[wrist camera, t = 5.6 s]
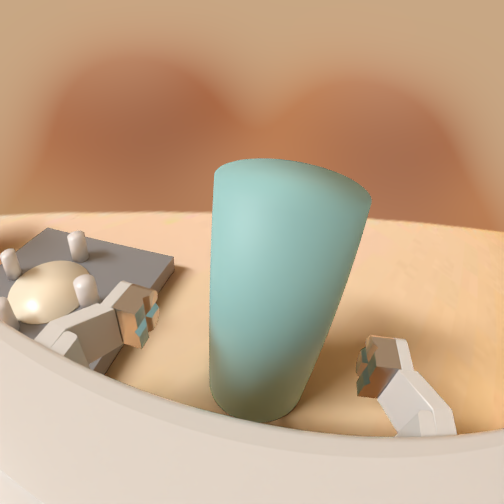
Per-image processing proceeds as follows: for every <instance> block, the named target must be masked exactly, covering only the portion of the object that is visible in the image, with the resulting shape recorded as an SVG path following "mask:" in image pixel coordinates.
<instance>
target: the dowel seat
mask: <svg viewBox="0 0 504 504" xmlns="http://www.w3.org/2000/svg"><path fill="white" fill-rule="evenodd" d="M0 259H1V262H2V264H1V265H0V320H1V321H3V322H4V323H6V324H7V325H9V326H11V327H12V328H14V329H16V330H17V331H19V332H21V333H22V334H24V335H26V336H27V337H29V338H31V339H33V340H34V339H35V338H36V337H37V336H38V334H39V333H40V332H41V331H42V330H43V329H44V328H45V326H46V325H47V324H48V323H49V322H50V321H52V320H55V319H58V318H60V317H63V316H65V315H68V314H70V313H73V312H76V311H78V310H81V309H83V308H86V307H89V306H91V305H94V304H96V303H98V304H101V303H102V302H103V300H104V299H105V298H106V297H107V296H108V295H109V294H110V292H111V291H112V290H113V289H114V288H115V287H116V286H117V284H118V283H119V282H121V281H126V282H129V283H132V284H136V285H140V286H143V287H146V288H150V289H153V290H155V291H157V294H158V292H159V291H160V290H161V288H162V287H163V285H164V284H165V282H166V281H167V280H168V278H169V277H170V275H171V274H172V273H173V271H174V257H172V256H167V255H163V254H158V253H154V252H149V251H145V250H140V249H136V248H132V247H127V246H123V245H118V244H114V243H110V242H105V241H101V240H97V239H92V238H88V237H85V234H84V232H83V231H74V232H72V233H67V232H63V231H59V230H55V229H51V228H46V229H45V230H44V231H42V232H41V233H40V234H38V235H37V236H36V237H34V238H33V239H32V240H31V241H29V242H28V243H27V244H25V245H24V246H23V247H22V248H20V249H19V250H18V251H17V252H15V250H14V249H13V248H10V249H6V250H4V251H3V252H2V253H1V254H0ZM123 345H124V343H123V344H122V345H121V346H119V347H117V348H116V349H114V350H112V351H111V352H109V353H107V354H106V355H104V356H102V357H100V358H99V359H97V360H95V361H94V362H92V363H90V364H89V367H90V369H92V370H94V371H96V372H98V373H101V374H103V375H104V374H105V373H106V371H107V370H108V368H109V366H110V365H111V363H112V362H113V360H114V359H115V357H116V355H117V354H118V352H119V351H120V349H121V348H122V346H123Z"/></svg>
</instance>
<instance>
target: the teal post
mask: <svg viewBox="0 0 504 504" xmlns="http://www.w3.org/2000/svg"><path fill="white" fill-rule="evenodd" d="M370 205H371V196H370V195H369V193H368V192H367V191H366V190H365V189H364V188H363V187H362V186H361V185H359V184H358V183H357V182H355V181H353V180H352V179H350V178H348V177H346V176H344V175H341V174H339V173H337V172H334V171H331V170H328V169H325V168H322V167H319V166H315V165H311V164H307V163H302V162H297V161H290V160H282V159H245V160H238V161H234V162H230V163H227V164H225V165H223V166H221V167H219V168H218V169H217V170H216V172H215V174H214V193H213V212H212V235H211V265H210V316H209V381H210V390H211V393H212V396H213V398H214V400H215V401H216V403H217V404H218V405H219V406H220V407H221V408H222V409H223V410H224V411H225V412H227V413H228V414H230V415H231V416H233V417H235V418H239V419H243V420H248V421H253V422H258V423H262V422H270V421H274V420H277V419H279V418H281V417H283V416H285V415H286V414H288V413H289V412H290V411H291V410H293V408H294V407H295V406H296V405H297V403H298V401H299V399H300V397H301V395H302V393H303V391H304V388H305V386H306V384H307V382H308V379H309V377H310V375H311V373H312V370H313V368H314V366H315V363H316V361H317V359H318V356H319V354H320V351H321V349H322V347H323V344H324V342H325V339H326V337H327V334H328V332H329V329H330V326H331V324H332V321H333V319H334V316H335V313H336V311H337V308H338V305H339V303H340V300H341V297H342V294H343V291H344V289H345V286H346V283H347V280H348V277H349V274H350V271H351V268H352V265H353V262H354V259H355V256H356V253H357V250H358V247H359V243H360V240H361V237H362V234H363V230H364V227H365V223H366V220H367V217H368V213H369V209H370Z"/></svg>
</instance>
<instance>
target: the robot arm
mask: <svg viewBox="0 0 504 504" xmlns="http://www.w3.org/2000/svg"><path fill="white" fill-rule="evenodd" d="M157 299H158V295H157V291H155V290H153V289H150V288H146V287H143V286H140V285H136V284H132V283H129V282H126V281H121V282H119V283H118V284H117V286H116V287H115V288H114V289H113V290H112V291H111V292H110V294H109V295H108V296H107V297H106V298H105V299H104V300H103V302H102V303H101V304H98V303H96V304H94V305H91V306H89V307H86V308H83V309H81V310H78V311H76V312H73V313H70V314H68V315H65V316H63V317H60V318H58V319H55V320H52V321H50V322H49V323H48V324H47V325H46V326H45V328H44V329H43V330H42V331H41V332H40V333H39V334H38V336H37V337H36V338H35V339H34V340H33V339H31V338H29V337H27V336H26V335H24V334H22V333H21V332H19V331H17V330H16V329H14V328H12V327H11V326H9V325H7V324H6V323H4V322H3V321H1V320H0V504H504V428H503V429H497V430H491V431H484V432H476V433H468V434H458V435H457V432H456V427H455V422H454V417H453V413H452V409H451V408H450V407H449V406H448V405H447V403H446V402H445V401H444V400H443V399H442V398H441V397H440V396H439V395H438V393H437V392H436V391H435V390H434V389H433V388H432V387H431V386H430V385H429V383H428V382H427V381H426V380H425V379H424V378H423V377H422V376H421V375H420V374H419V373H418V371H414V368H413V364H412V359H411V355H410V351H409V347H408V344H407V341H406V340H405V339H399V338H390V337H382V336H375V335H369V336H368V337H367V339H366V341H365V345H366V347H365V348H363V349H362V350H361V351H360V353H359V355H358V358H357V362H356V373H357V375H358V376H359V379H358V381H357V396H361V397H369V398H377V400H378V402H379V403H380V405H381V407H382V408H383V410H384V412H385V413H386V415H387V416H388V418H389V420H390V421H391V423H392V425H393V426H394V428H395V430H396V431H397V434H396V435H395V436H394V437H375V436H356V435H342V434H331V433H322V432H313V431H306V430H298V429H292V428H285V427H279V426H274V425H268V424H263V423H258V422H253V421H248V420H243V419H239V418H234V417H230V416H226V415H222V414H218V413H214V412H210V411H207V410H203V409H199V408H196V407H192V406H189V405H186V404H182V403H179V402H176V401H173V400H170V399H167V398H164V397H161V396H158V395H155V394H152V393H149V392H146V391H143V390H141V389H138V388H135V387H133V386H130V385H127V384H125V383H122V382H120V381H117V380H115V379H113V378H110V377H108V376H105V375H103V374H101V373H98V372H96V371H94V370H92V369H90V367H89V364H90V363H92V362H94V361H95V360H97V359H99V358H100V357H102V356H104V355H106V354H107V353H109V352H111V351H112V350H114V349H116V348H117V347H119V346H121V345H122V344H123V343H124V344H128V345H131V346H134V347H137V348H140V349H142V348H143V346H144V344H145V343H146V341H147V339H148V338H149V335H148V332H150V331H152V330H154V328H155V326H156V325H157V322H158V318H159V307H158V306H157V304H156V303H155V302H156V301H157Z"/></svg>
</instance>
